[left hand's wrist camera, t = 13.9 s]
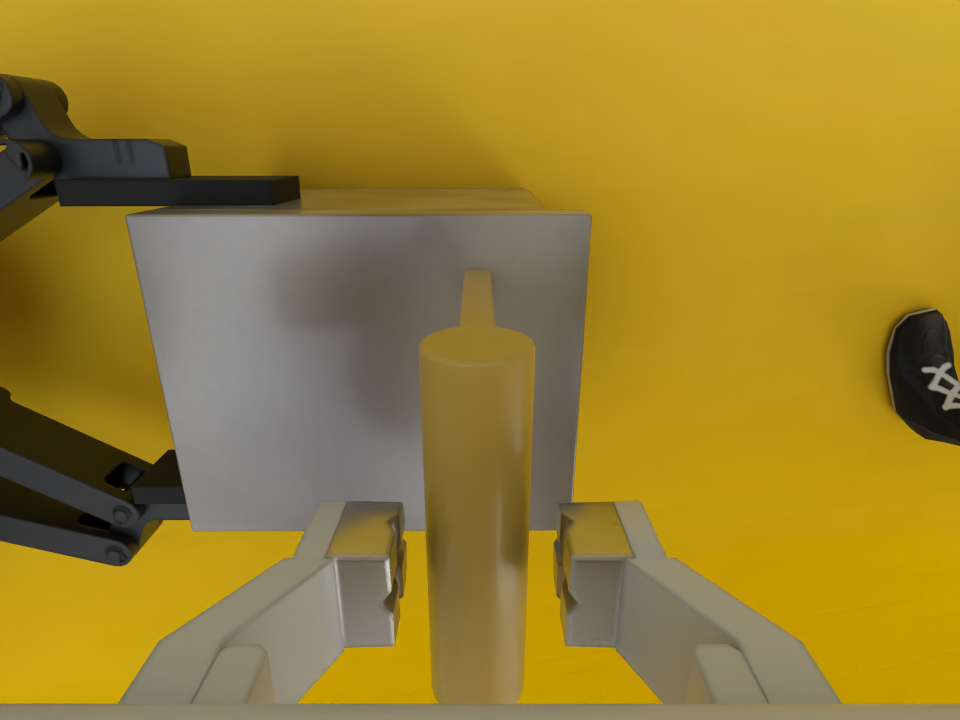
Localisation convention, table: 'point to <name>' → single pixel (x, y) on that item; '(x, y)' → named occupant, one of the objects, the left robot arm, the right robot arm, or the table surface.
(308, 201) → the chest
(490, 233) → the lid
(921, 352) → the figurine
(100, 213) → the table surface
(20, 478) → the right robot arm
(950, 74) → the table surface
